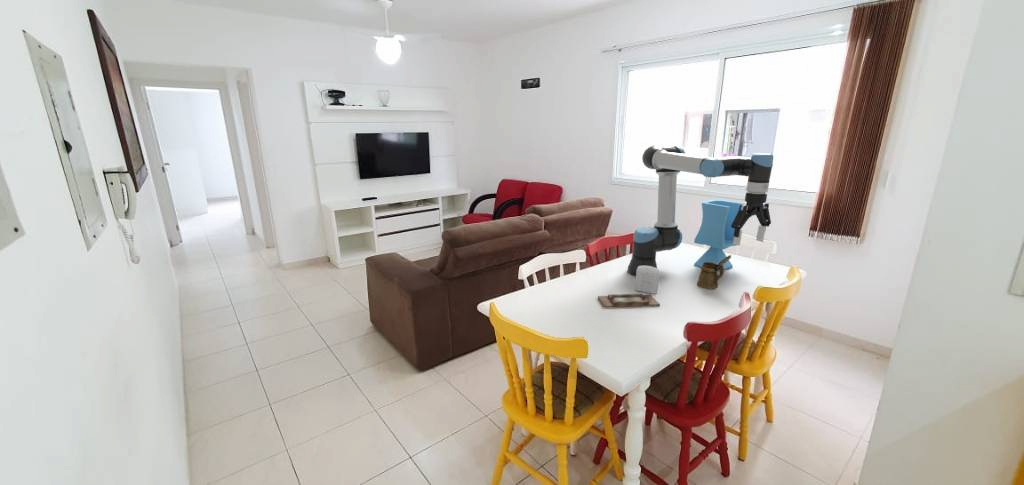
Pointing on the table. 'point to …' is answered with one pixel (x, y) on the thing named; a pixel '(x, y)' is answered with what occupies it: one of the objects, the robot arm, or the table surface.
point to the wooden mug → (711, 274)
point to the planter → (717, 230)
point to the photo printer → (647, 279)
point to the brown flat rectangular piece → (628, 300)
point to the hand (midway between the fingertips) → (748, 242)
